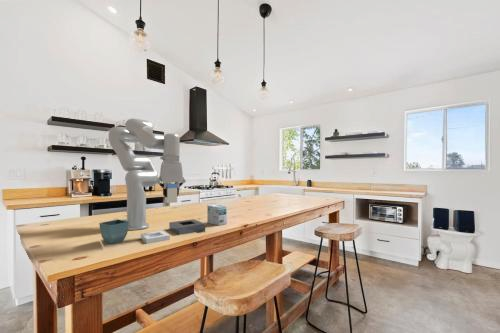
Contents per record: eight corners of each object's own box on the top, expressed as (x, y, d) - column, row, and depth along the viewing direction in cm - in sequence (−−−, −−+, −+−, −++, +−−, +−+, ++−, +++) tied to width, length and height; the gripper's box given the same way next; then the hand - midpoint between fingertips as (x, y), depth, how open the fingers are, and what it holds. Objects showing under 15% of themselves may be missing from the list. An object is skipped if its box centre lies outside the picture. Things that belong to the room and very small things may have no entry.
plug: (167, 203, 116) (167, 184, 116) (164, 202, 120) (165, 183, 120) (177, 202, 119) (177, 183, 119) (174, 201, 123) (174, 183, 123)
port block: (179, 235, 119) (179, 227, 119) (169, 229, 130) (169, 221, 130) (205, 231, 127) (205, 223, 127) (193, 226, 138) (193, 218, 138)
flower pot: (109, 246, 102) (109, 225, 102) (98, 243, 107) (98, 222, 107) (129, 241, 110) (129, 221, 110) (118, 238, 114) (118, 219, 114)
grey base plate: (146, 244, 105) (146, 239, 105) (140, 239, 113) (140, 233, 113) (169, 240, 111) (169, 235, 111) (162, 235, 119) (162, 230, 119)
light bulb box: (227, 223, 145) (227, 205, 145) (218, 225, 140) (218, 207, 140) (215, 221, 152) (215, 203, 152) (206, 223, 147) (206, 205, 147)
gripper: (155, 158, 112) (154, 198, 112) (190, 159, 121) (190, 196, 121) (151, 159, 118) (151, 196, 118) (185, 159, 127) (185, 194, 127)
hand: (171, 196), depth 120 cm, fingers closed on plug, 4 cm apart
